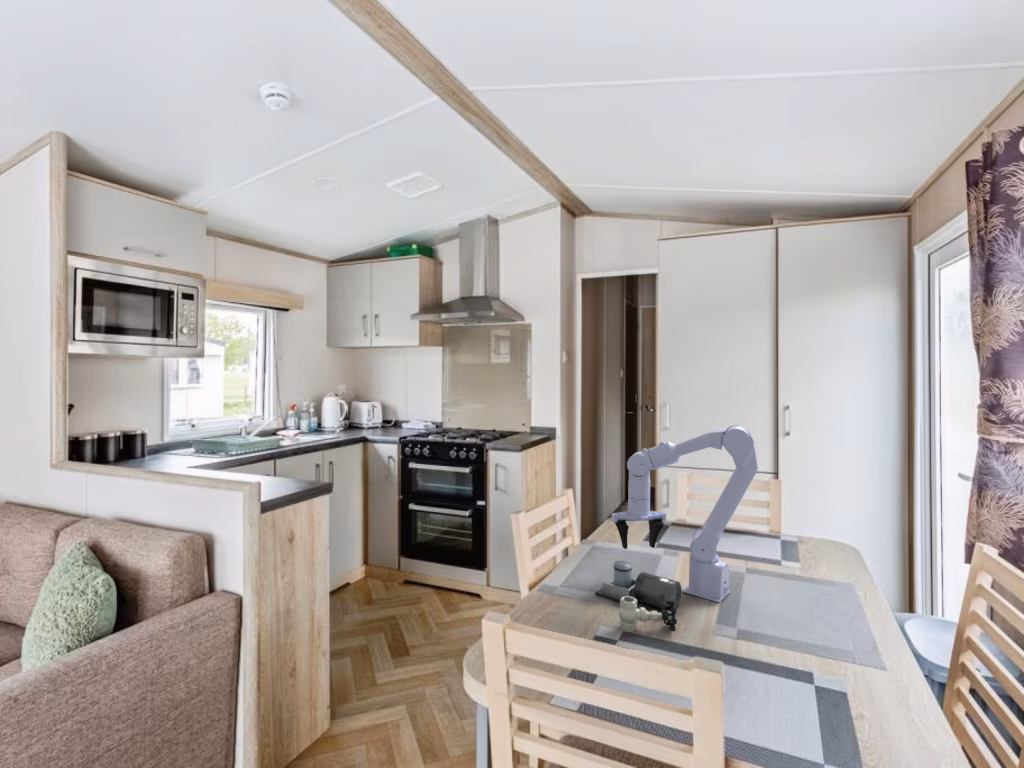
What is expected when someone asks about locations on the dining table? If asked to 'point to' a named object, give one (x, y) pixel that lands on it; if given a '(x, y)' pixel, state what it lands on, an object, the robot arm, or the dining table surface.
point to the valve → (643, 614)
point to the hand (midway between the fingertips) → (638, 547)
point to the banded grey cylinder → (622, 574)
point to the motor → (645, 590)
